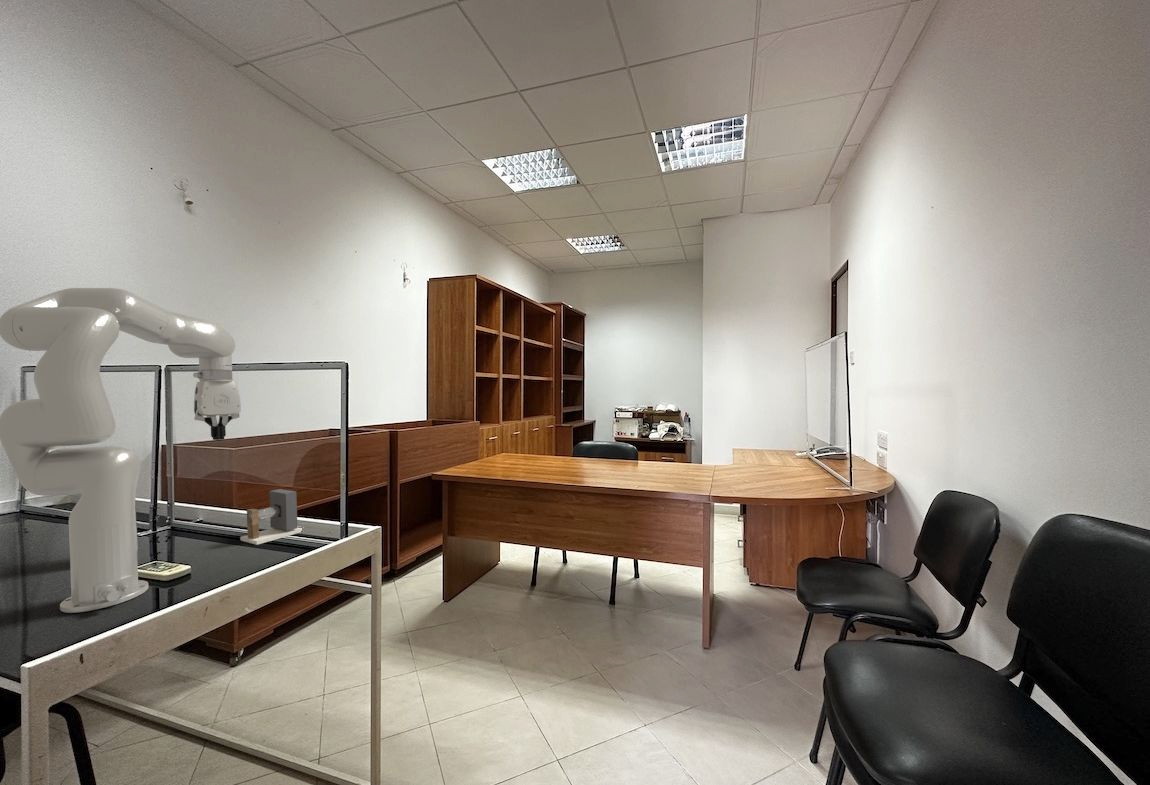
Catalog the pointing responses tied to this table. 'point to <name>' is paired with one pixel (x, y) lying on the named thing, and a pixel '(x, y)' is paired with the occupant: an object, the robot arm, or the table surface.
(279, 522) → the upright gray rectangular block
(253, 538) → the pipe stand
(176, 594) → the table surface
